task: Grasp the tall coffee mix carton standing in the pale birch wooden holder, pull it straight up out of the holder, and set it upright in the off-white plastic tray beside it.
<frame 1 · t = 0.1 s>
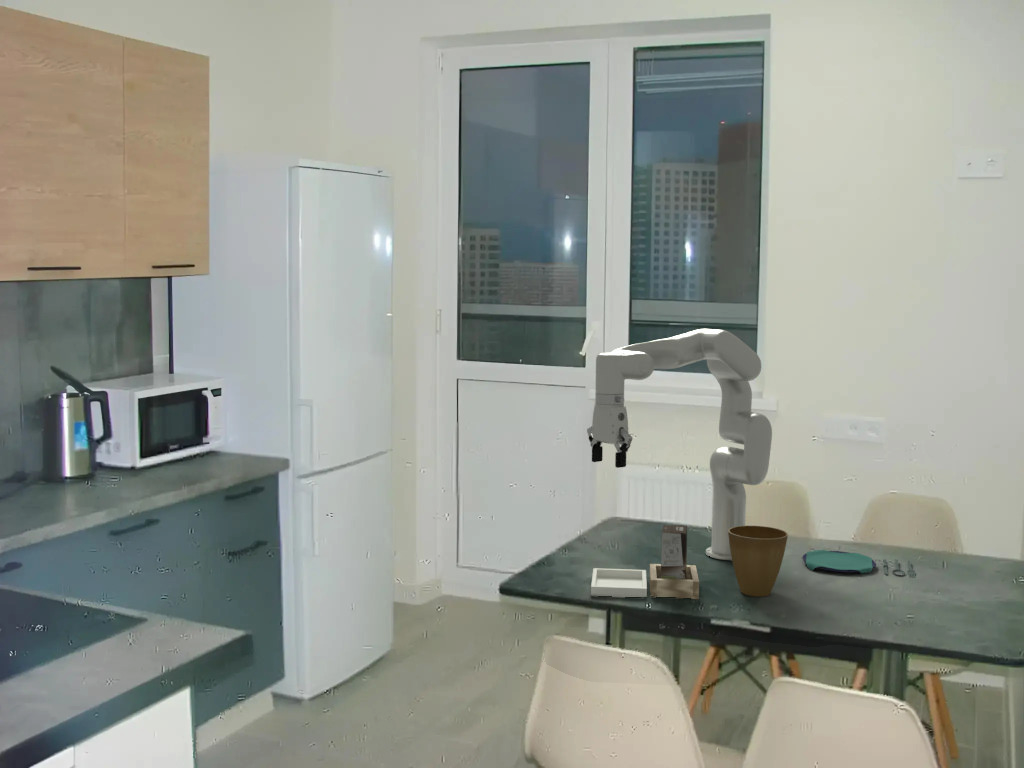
hand: (608, 464, 282), 31 cm above the table, tool pointing down, fingers open, 9 cm apart
plant pot: (756, 593, 275), on the table
holder: (673, 589, 277), on the table
tray: (619, 587, 278), on the table
cutlery set: (857, 569, 299), on the table
coffee box: (673, 590, 277), resting in holder
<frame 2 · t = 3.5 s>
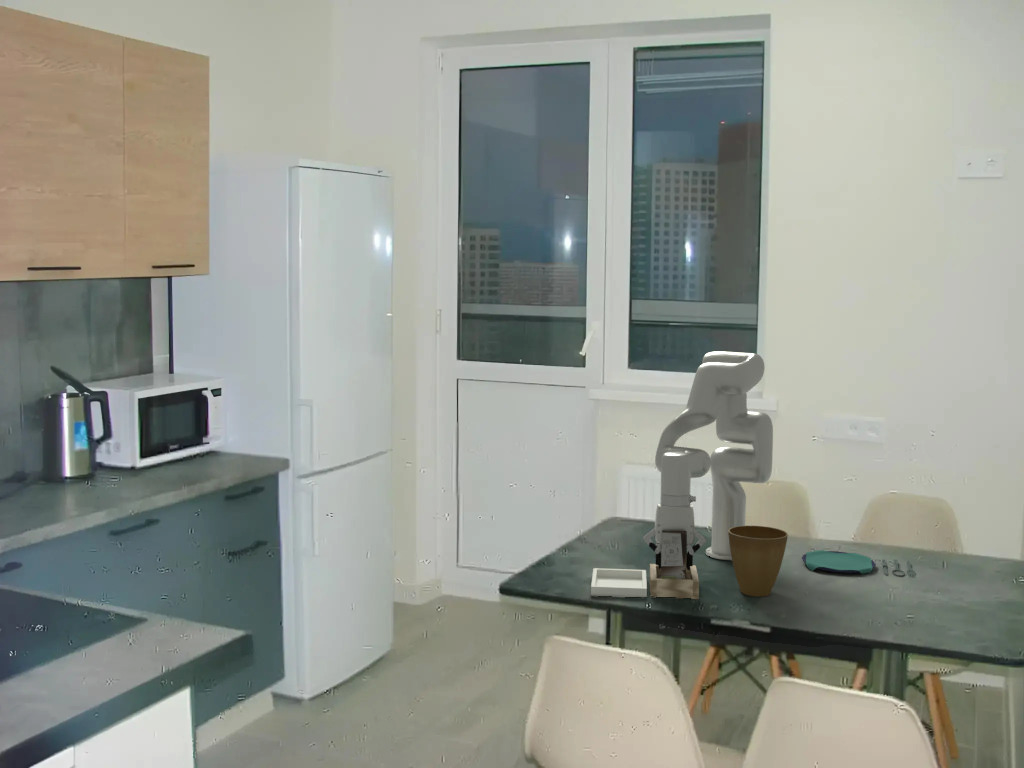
hand: (673, 567, 276), 6 cm above the table, tool pointing down, fingers closed on coffee box, 6 cm apart
coffee box: (673, 590, 277), resting in holder, touching gripper
everything else where it was.
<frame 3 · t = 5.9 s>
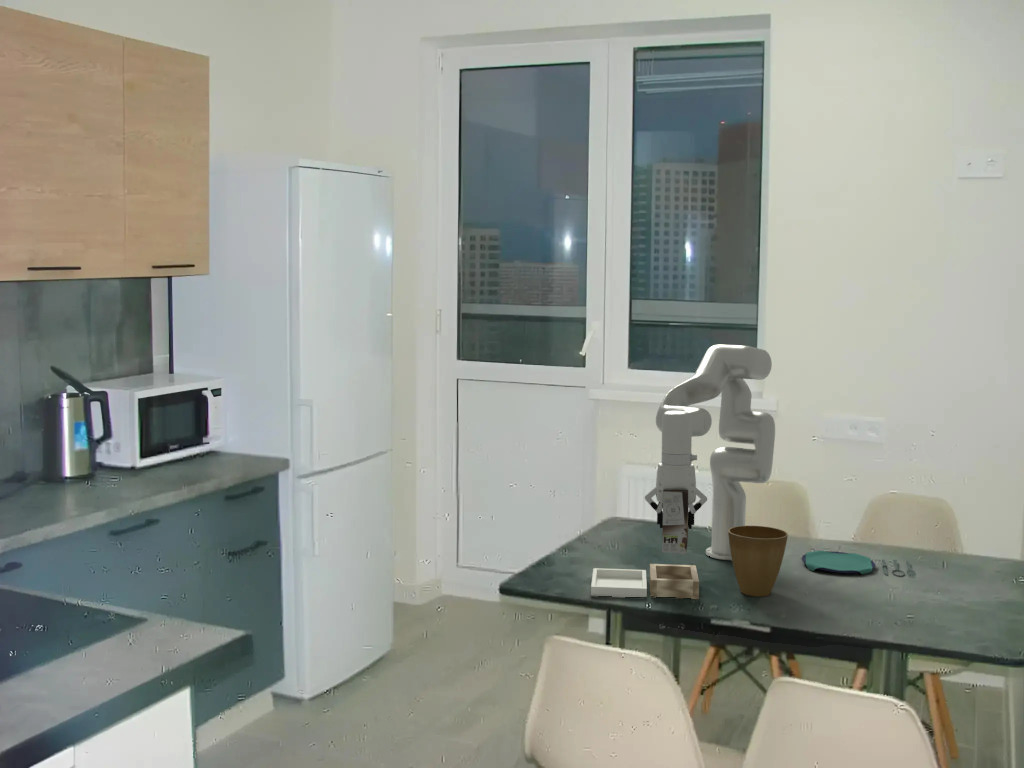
hand: (675, 526, 276), 16 cm above the table, tool pointing down, fingers closed on coffee box, 6 cm apart
coffee box: (675, 549, 276), point 10 cm above the table, touching gripper
everything else where it was.
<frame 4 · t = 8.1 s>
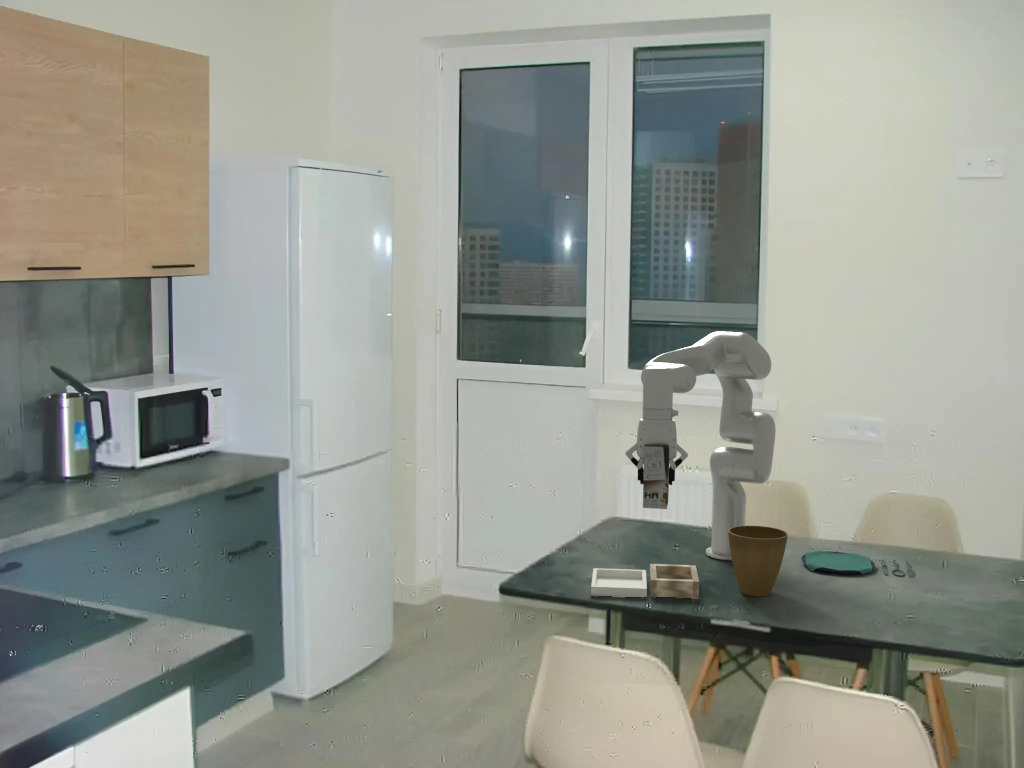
hand: (656, 483, 274), 28 cm above the table, tool pointing down, fingers closed on coffee box, 6 cm apart
coffee box: (655, 506, 275), point 22 cm above the table, touching gripper
everything else where it was.
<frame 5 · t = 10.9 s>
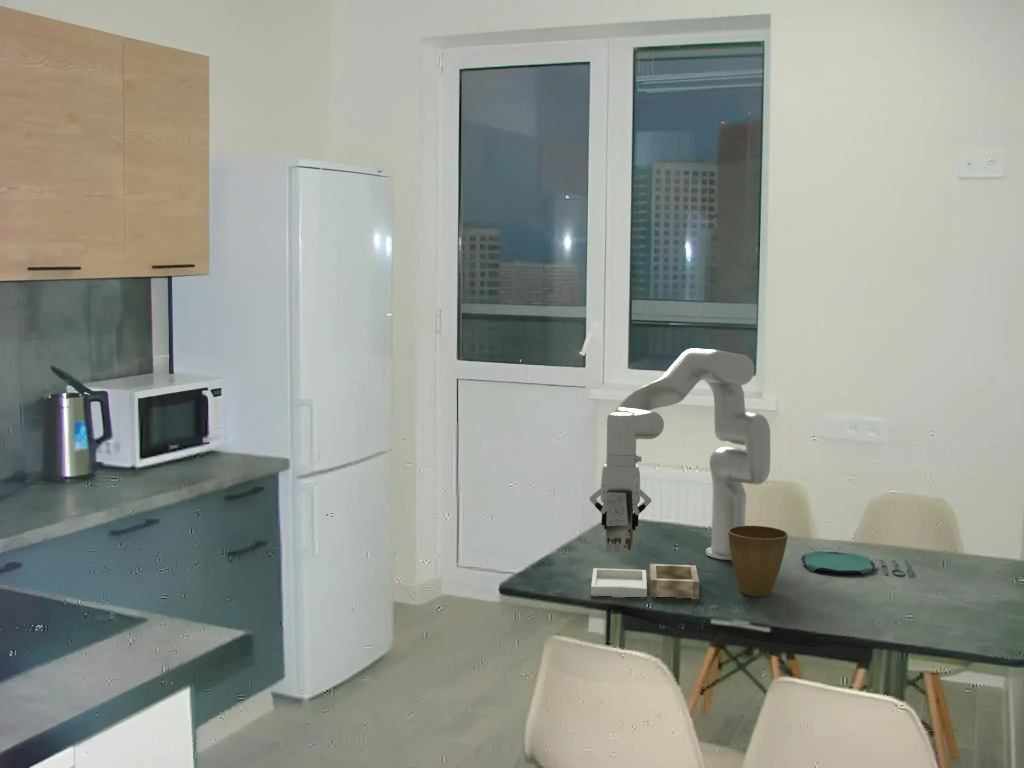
hand: (619, 528, 277), 16 cm above the table, tool pointing down, fingers closed on coffee box, 6 cm apart
coffee box: (619, 550, 277), point 10 cm above the table, touching gripper
everything else where it was.
when the fingers open (7 cm above the table, at t = 13.0 s): coffee box drops 1 cm, resting on tray.
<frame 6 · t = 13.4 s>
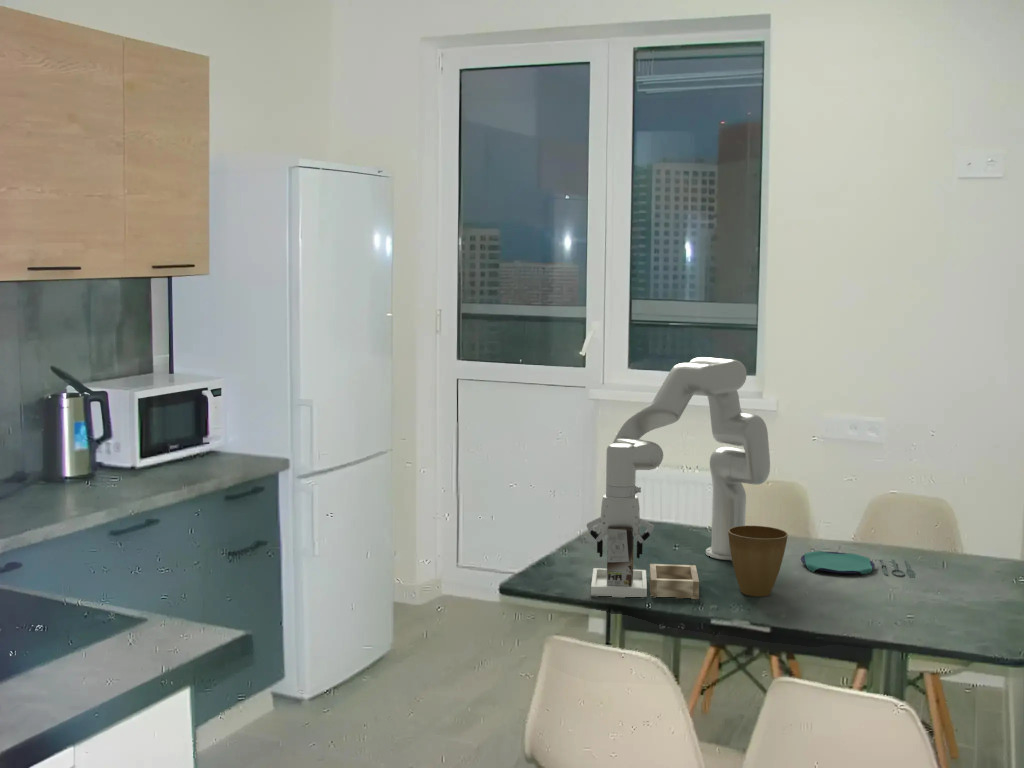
hand: (619, 556, 278), 8 cm above the table, tool pointing down, fingers open, 9 cm apart
coffee box: (620, 586, 279), resting on tray
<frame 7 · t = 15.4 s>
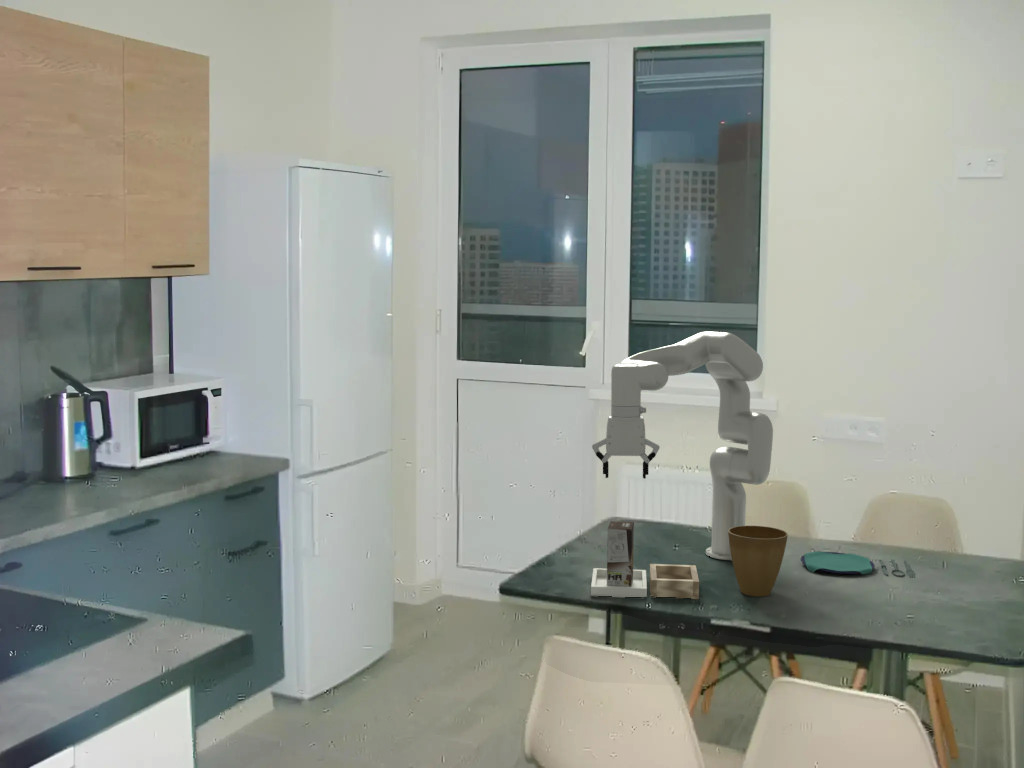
hand: (625, 477, 277), 29 cm above the table, tool pointing down, fingers open, 9 cm apart
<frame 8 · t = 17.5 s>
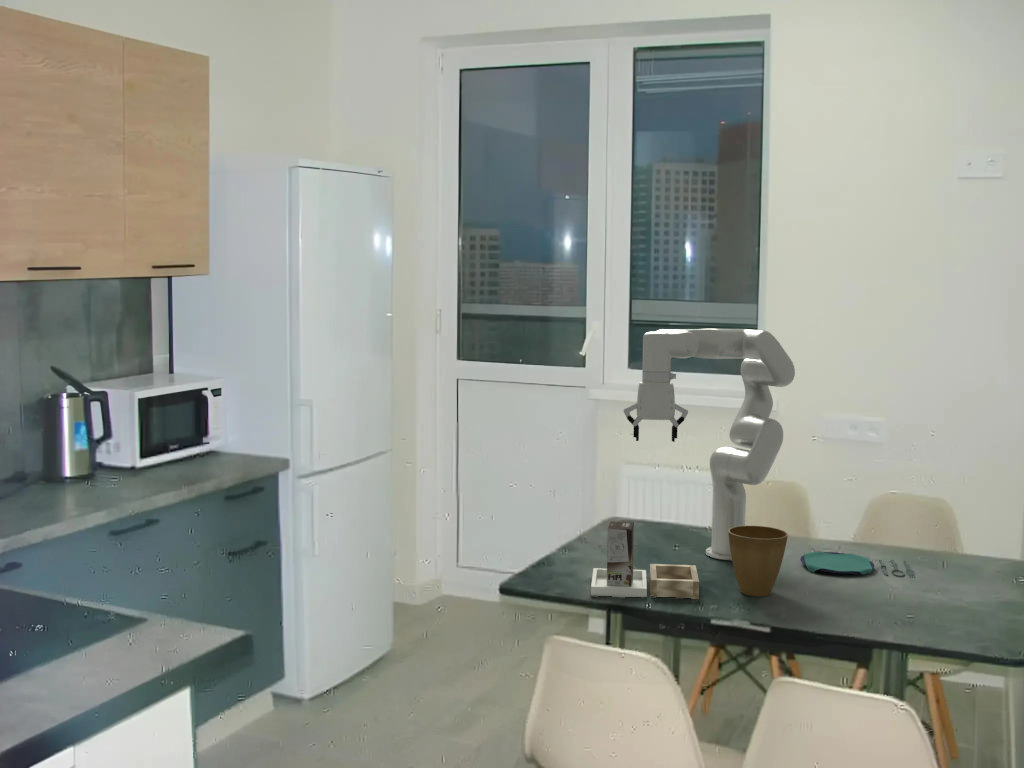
hand: (655, 440, 289), 36 cm above the table, tool pointing down, fingers open, 9 cm apart
at the end: coffee box inside the target area on the tray (0.3 cm from its centre), point 0.3 cm above the tray's base; coffee box tilted 0°; the gripper is holding nothing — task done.
